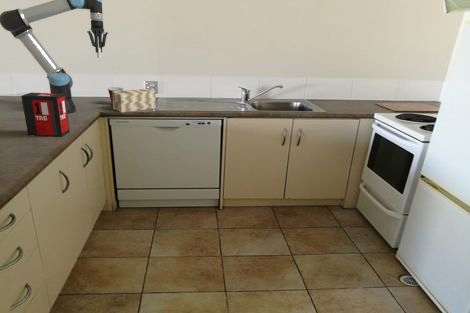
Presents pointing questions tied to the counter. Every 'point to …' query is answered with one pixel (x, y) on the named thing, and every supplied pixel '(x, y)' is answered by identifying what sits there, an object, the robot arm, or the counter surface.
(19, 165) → the counter surface
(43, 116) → the cleaning product box
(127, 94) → the collar block
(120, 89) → the plastic cup
